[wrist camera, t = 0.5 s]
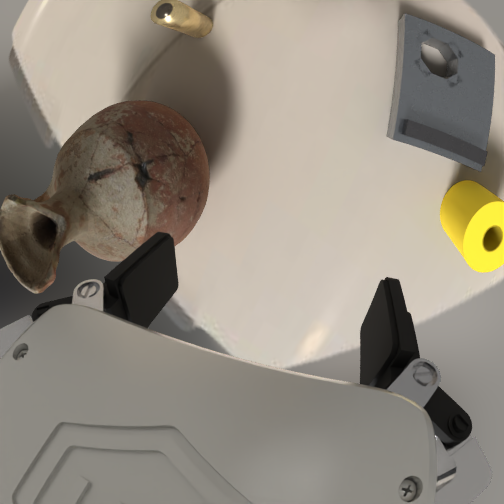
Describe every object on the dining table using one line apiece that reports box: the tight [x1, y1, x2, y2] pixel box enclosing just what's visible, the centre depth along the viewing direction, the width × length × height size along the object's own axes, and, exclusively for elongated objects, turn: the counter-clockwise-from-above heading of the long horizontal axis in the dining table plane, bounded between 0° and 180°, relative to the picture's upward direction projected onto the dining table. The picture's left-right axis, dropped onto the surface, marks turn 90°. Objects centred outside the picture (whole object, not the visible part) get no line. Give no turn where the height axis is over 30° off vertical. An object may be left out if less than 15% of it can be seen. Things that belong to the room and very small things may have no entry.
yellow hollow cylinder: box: [440, 180, 504, 272], centre depth 28 cm, size 10×10×9 cm
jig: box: [387, 13, 495, 172], centre depth 22 cm, size 18×14×6 cm
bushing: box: [151, 0, 213, 38], centre depth 25 cm, size 4×4×10 cm
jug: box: [0, 101, 210, 293], centre depth 29 cm, size 22×22×30 cm
